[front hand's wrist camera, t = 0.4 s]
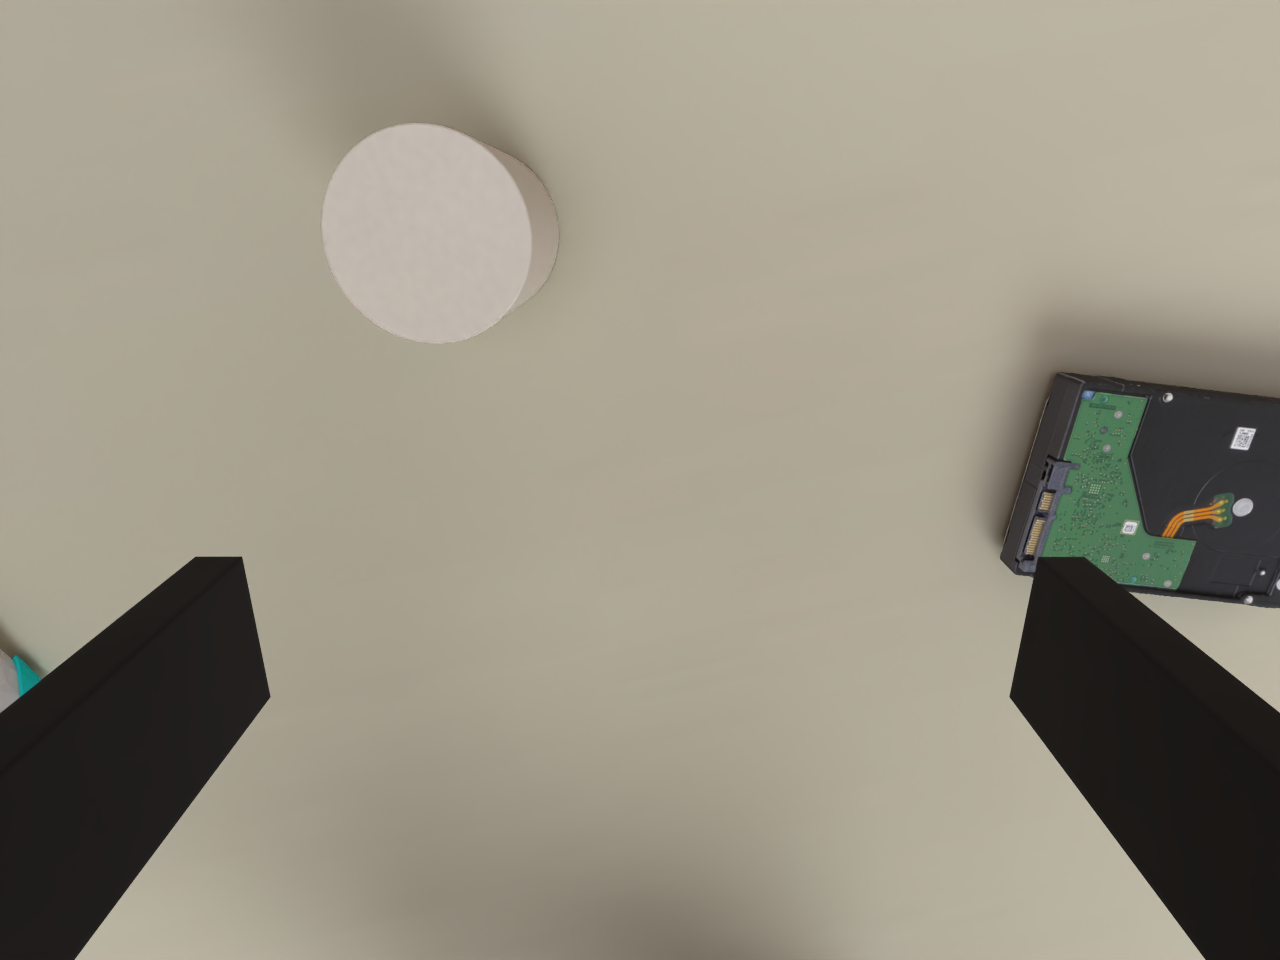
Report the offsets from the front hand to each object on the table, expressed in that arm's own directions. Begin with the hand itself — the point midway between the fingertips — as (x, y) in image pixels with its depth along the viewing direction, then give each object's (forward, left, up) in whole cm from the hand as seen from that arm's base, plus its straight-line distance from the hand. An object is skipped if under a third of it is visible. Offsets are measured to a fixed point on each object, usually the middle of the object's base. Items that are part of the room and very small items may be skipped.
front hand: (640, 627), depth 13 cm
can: (+5, +8, -25) cm, 27 cm away
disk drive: (-4, -27, -25) cm, 37 cm away
